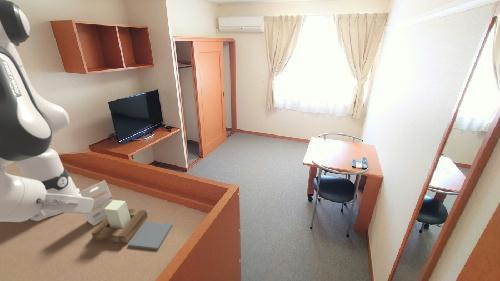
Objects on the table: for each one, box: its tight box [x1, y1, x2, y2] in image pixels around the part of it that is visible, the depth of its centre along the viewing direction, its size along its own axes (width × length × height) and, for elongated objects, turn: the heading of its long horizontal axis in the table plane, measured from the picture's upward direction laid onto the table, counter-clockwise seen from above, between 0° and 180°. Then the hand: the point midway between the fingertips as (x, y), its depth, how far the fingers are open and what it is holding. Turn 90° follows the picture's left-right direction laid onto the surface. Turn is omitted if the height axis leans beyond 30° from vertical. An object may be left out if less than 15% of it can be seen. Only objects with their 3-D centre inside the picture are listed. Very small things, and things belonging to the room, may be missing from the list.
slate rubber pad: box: [127, 220, 173, 251], centre depth 77 cm, size 10×10×1 cm
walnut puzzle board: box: [91, 208, 148, 244], centre depth 80 cm, size 12×12×3 cm
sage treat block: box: [104, 199, 131, 229], centre depth 78 cm, size 4×4×10 cm
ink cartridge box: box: [77, 179, 114, 226], centre depth 82 cm, size 9×5×15 cm, turn 148°
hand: (74, 205), depth 61 cm, fingers open, 8 cm apart
